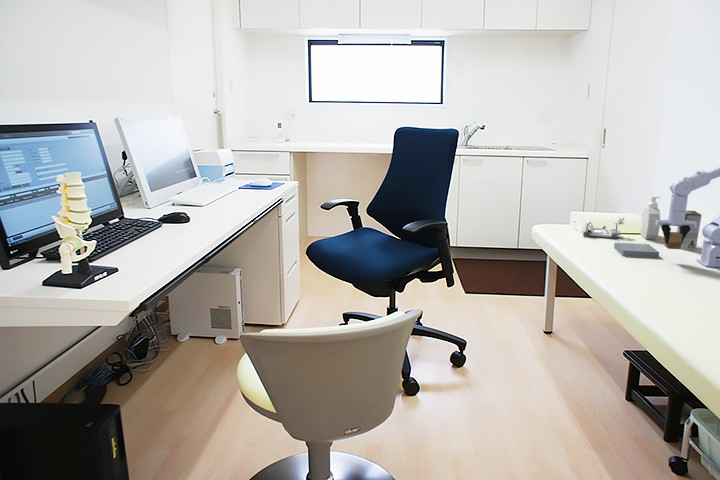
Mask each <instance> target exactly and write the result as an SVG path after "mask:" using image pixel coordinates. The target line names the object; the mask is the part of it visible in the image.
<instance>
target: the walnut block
mask: <svg viewBox="0 0 720 480" xmlns="http://www.w3.org/2000/svg"><path fill="white" fill-rule="evenodd" d="M682 236H683V235H682V234H681V233H679V232H677V231H670V235H669V242H668V244H666V243H665V242H664V247H666V248H667V249H669V250H682V249H681V243H682Z"/></svg>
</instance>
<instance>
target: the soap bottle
mask: <svg viewBox="0 0 720 480" xmlns="http://www.w3.org/2000/svg"><path fill="white" fill-rule="evenodd" d="M660 198H661V196H660V195H651V198H650V201H649V202H648V203H647V206H644V208H643V211H642V214H641V215H642V216H641V219H643V220H642V229H641V228H640V233H641V234H640V235H641V237H643V239H644V240H646V241H648V240H649V241H657V240H658V236H659V233H660V229H661V225H660V226H657V225H655V224H656V220H661V211H660V208H658V207H659V204H658V202H657V201H656V200H657V199H660Z"/></svg>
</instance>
